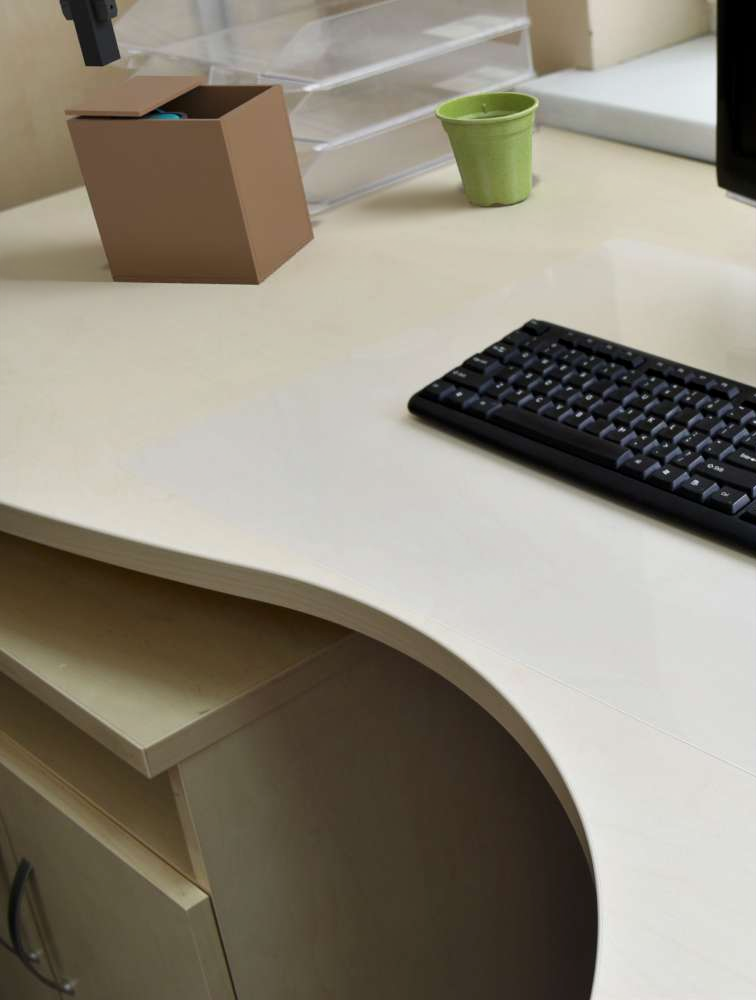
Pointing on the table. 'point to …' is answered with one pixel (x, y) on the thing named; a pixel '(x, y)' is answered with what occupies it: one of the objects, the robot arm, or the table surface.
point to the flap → (136, 96)
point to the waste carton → (197, 187)
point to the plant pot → (492, 144)
